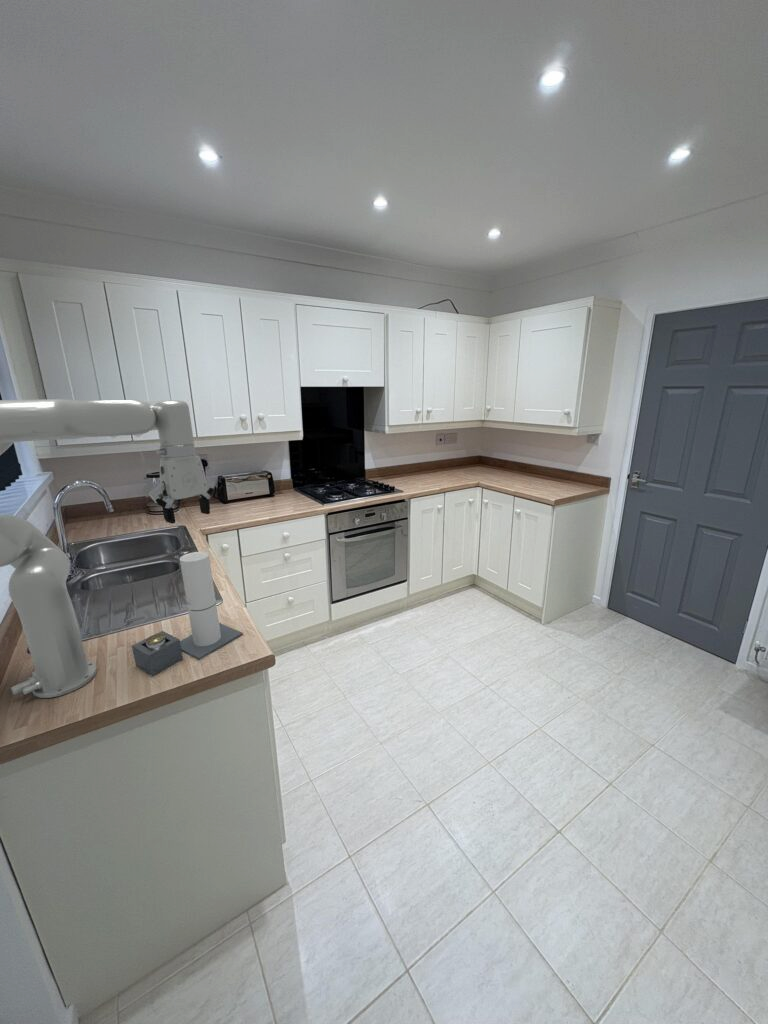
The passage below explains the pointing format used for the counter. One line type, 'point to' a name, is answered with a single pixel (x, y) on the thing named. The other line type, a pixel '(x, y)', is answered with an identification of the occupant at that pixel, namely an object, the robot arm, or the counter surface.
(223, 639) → the rubber mat
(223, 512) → the counter surface
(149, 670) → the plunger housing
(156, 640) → the plunger
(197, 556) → the cylindrical container
